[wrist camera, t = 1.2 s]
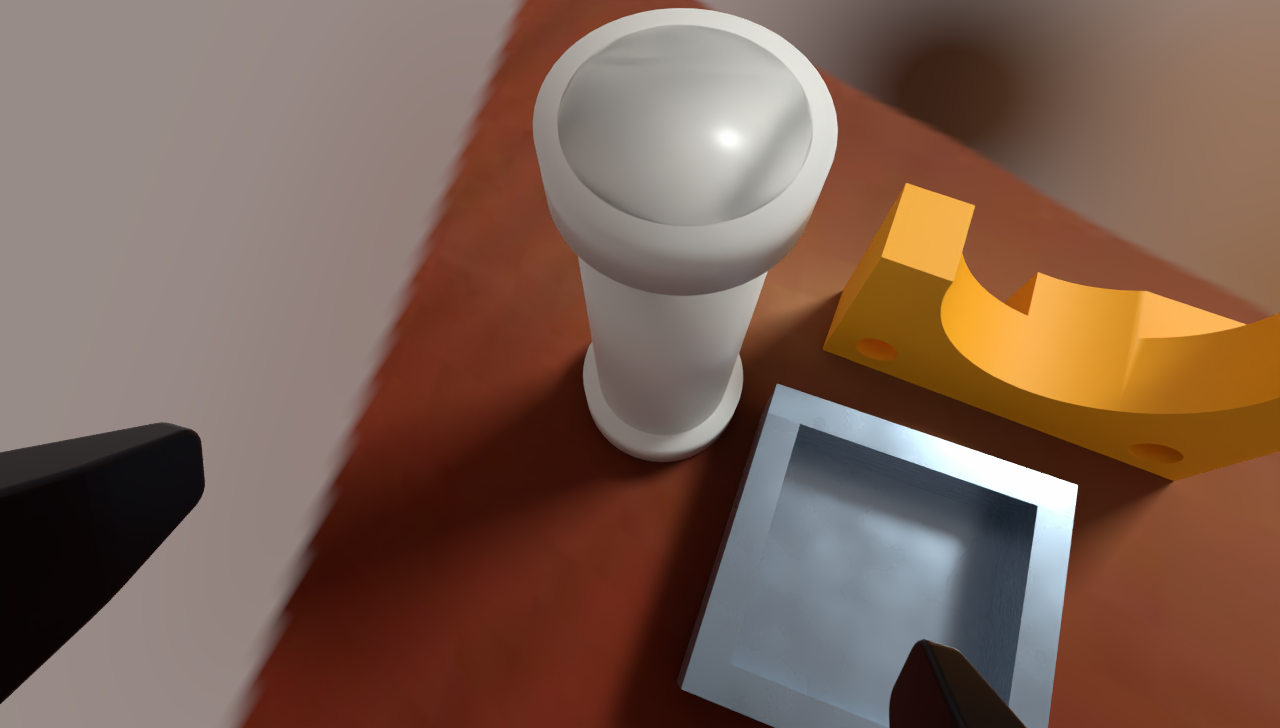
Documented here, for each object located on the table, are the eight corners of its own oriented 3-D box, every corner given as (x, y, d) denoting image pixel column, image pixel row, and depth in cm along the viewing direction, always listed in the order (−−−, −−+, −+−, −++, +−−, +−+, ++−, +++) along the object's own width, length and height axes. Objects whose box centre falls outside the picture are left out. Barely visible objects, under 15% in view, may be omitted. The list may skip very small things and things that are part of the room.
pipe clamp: (1185, 369, 23) (1371, 278, 17) (1170, 481, 22) (1369, 426, 16) (855, 254, 25) (921, 137, 19) (821, 351, 24) (881, 256, 18)
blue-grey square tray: (984, 808, 18) (1034, 833, 16) (676, 682, 20) (680, 688, 17) (1031, 501, 22) (1077, 485, 19) (763, 408, 23) (777, 383, 20)
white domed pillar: (709, 484, 22) (795, 298, 10) (563, 431, 22) (473, 195, 10) (755, 347, 24) (875, 49, 12) (618, 302, 24) (596, -25, 12)
